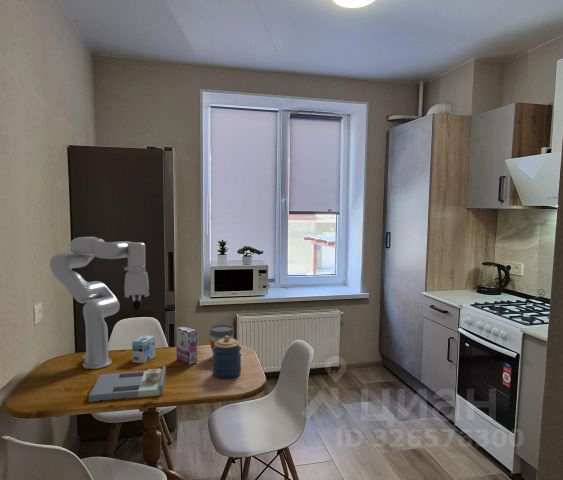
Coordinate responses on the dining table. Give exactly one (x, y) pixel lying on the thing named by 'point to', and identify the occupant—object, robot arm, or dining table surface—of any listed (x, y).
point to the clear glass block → (153, 375)
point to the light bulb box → (143, 349)
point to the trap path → (126, 386)
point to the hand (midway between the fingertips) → (137, 309)
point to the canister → (226, 358)
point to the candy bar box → (187, 345)
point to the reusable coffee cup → (220, 333)
